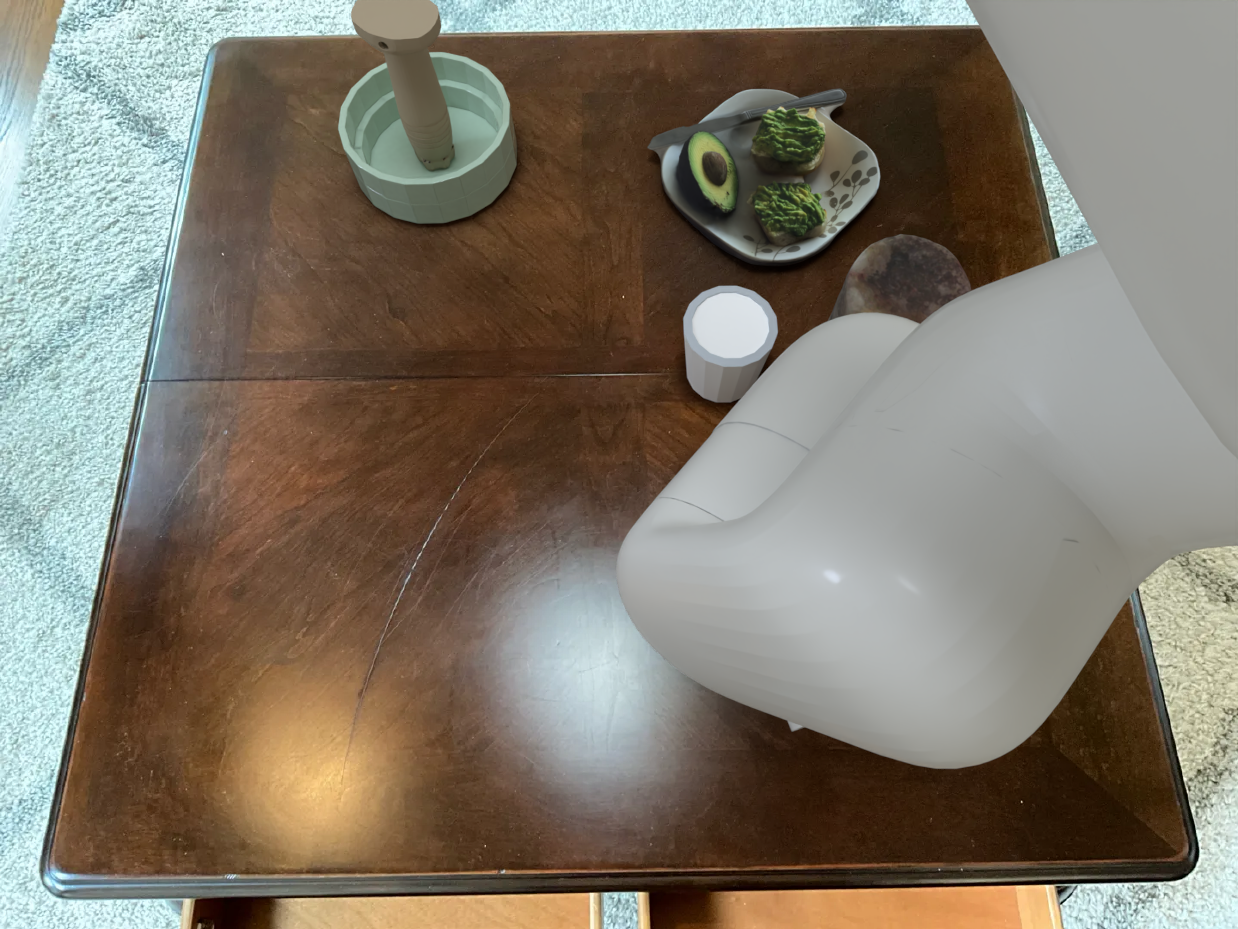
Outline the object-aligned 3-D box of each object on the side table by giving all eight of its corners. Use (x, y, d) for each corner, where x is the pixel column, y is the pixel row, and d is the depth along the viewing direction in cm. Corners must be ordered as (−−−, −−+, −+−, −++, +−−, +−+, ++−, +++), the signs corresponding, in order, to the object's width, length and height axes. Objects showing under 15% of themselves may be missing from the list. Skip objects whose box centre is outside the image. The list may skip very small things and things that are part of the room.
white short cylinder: (782, 380, 69) (798, 334, 63) (712, 425, 68) (720, 383, 62) (730, 319, 72) (739, 268, 65) (661, 361, 70) (664, 314, 64)
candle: (879, 393, 69) (969, 233, 50) (887, 480, 66) (986, 345, 48) (781, 391, 69) (835, 231, 51) (784, 478, 66) (844, 342, 48)
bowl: (537, 200, 76) (530, 156, 71) (378, 246, 75) (359, 204, 70) (492, 84, 82) (483, 34, 77) (342, 124, 80) (323, 76, 75)
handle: (459, 188, 76) (421, 46, 63) (392, 169, 77) (340, 25, 64) (481, 147, 78) (448, 0, 64) (415, 128, 79) (369, -20, 65)
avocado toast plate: (773, 58, 82) (780, 16, 78) (924, 166, 77) (941, 128, 73) (623, 174, 77) (623, 136, 73) (774, 298, 72) (782, 264, 68)
